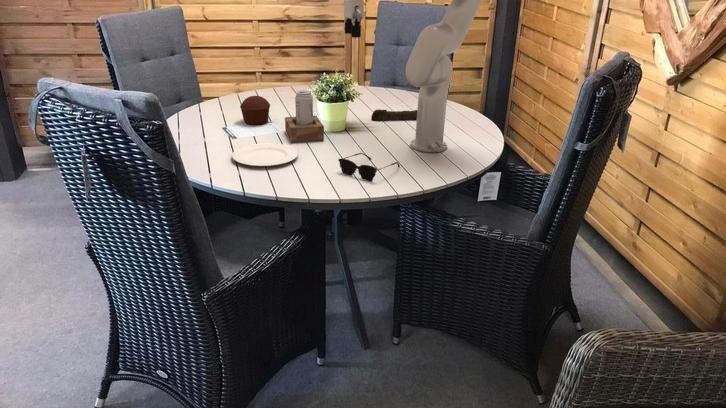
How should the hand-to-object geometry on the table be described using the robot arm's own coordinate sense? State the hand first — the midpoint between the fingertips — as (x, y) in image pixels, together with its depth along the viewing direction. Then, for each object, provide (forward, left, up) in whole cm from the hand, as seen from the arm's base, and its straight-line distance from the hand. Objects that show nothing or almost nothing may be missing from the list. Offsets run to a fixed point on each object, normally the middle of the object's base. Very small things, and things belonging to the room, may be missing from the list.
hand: (352, 35), depth 193 cm
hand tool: (+3, -19, -34) cm, 39 cm away
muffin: (+10, +35, -34) cm, 50 cm away
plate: (-30, +36, -34) cm, 58 cm away
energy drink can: (-11, +20, -32) cm, 40 cm away
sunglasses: (-47, +6, -34) cm, 58 cm away
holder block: (-11, +20, -33) cm, 40 cm away
